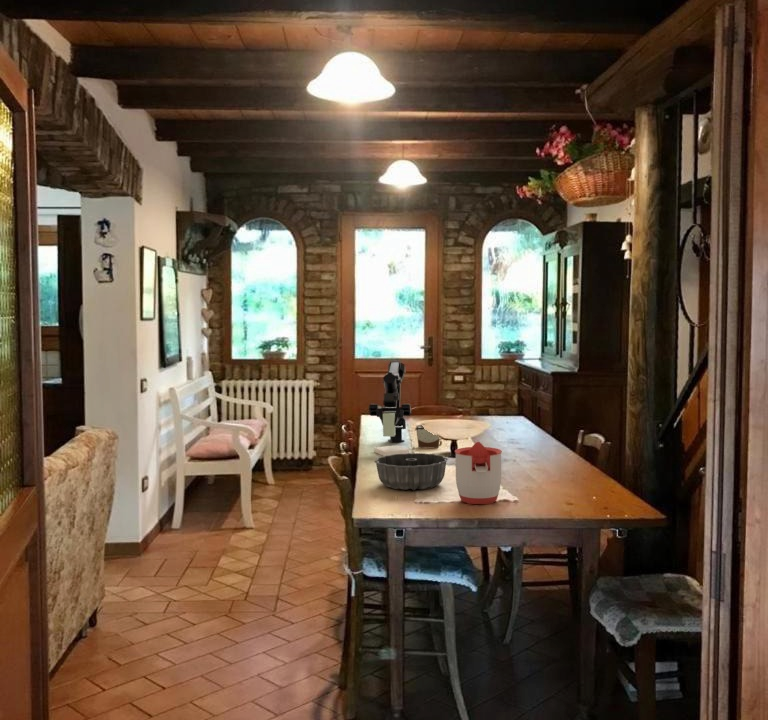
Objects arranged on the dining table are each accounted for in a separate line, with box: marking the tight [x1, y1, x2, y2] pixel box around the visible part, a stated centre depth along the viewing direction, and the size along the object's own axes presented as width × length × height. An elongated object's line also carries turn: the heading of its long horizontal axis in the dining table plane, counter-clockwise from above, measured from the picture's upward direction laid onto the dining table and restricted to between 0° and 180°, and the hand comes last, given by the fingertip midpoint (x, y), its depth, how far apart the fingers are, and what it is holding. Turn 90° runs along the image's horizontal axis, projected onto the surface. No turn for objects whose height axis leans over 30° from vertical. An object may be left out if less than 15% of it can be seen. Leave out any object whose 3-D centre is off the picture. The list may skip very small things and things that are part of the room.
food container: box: [414, 424, 441, 447], centre depth 366 cm, size 12×6×10 cm, turn 84°
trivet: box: [373, 444, 410, 457], centre depth 351 cm, size 12×12×2 cm
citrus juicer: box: [454, 441, 502, 505], centre depth 259 cm, size 16×17×20 cm
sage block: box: [382, 412, 396, 437], centre depth 350 cm, size 5×5×10 cm
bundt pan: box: [374, 452, 448, 491], centre depth 285 cm, size 26×26×10 cm
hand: (388, 424), depth 348 cm, fingers closed on sage block, 5 cm apart
